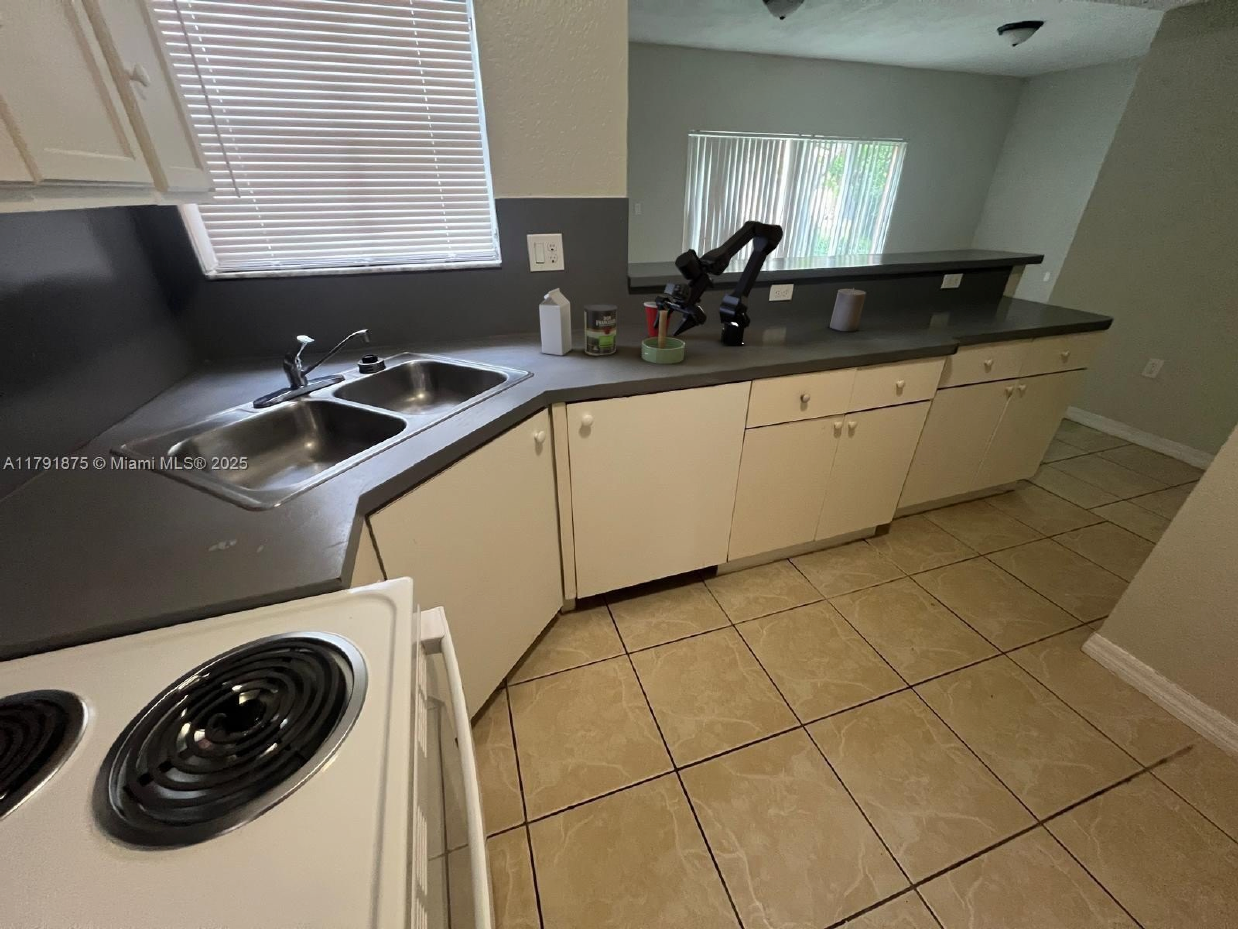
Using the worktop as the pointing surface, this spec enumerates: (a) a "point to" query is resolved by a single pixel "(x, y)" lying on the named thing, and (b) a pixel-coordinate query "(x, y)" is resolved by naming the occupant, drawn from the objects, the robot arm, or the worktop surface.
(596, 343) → the coffee can
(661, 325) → the stick
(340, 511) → the worktop surface
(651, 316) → the plastic cup
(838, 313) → the pillar candle
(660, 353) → the bowl
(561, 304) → the milk carton
